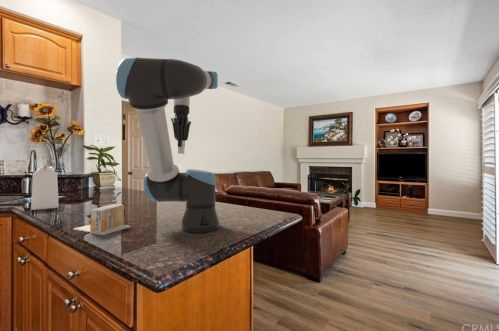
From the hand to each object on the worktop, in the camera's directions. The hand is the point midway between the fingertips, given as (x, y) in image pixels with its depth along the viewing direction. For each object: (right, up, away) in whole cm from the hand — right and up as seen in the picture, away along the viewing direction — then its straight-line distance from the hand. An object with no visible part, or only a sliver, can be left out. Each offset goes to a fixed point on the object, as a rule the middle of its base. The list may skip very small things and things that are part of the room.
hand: (181, 153), depth 124 cm
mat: (-24, -31, -25) cm, 46 cm away
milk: (-80, -29, +16) cm, 87 cm away
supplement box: (-21, -26, -19) cm, 38 cm away
